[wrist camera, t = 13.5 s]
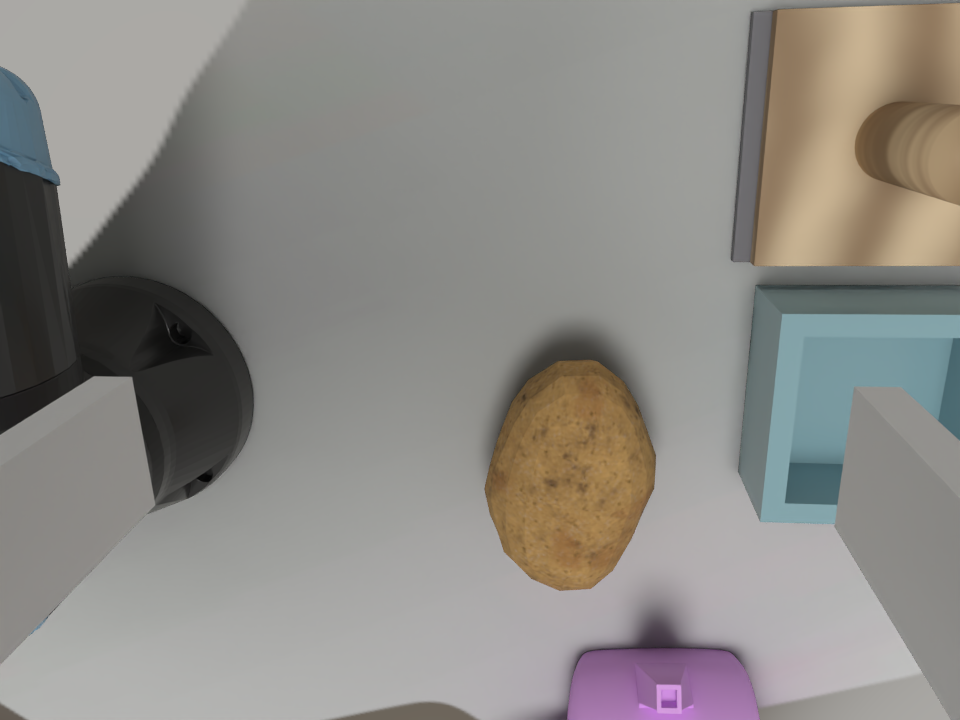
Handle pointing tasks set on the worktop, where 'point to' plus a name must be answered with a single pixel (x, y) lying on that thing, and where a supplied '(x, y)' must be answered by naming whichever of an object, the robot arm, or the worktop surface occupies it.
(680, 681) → the teakettle
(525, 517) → the potato
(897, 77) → the lid
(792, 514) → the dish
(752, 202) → the mat
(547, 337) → the worktop surface
